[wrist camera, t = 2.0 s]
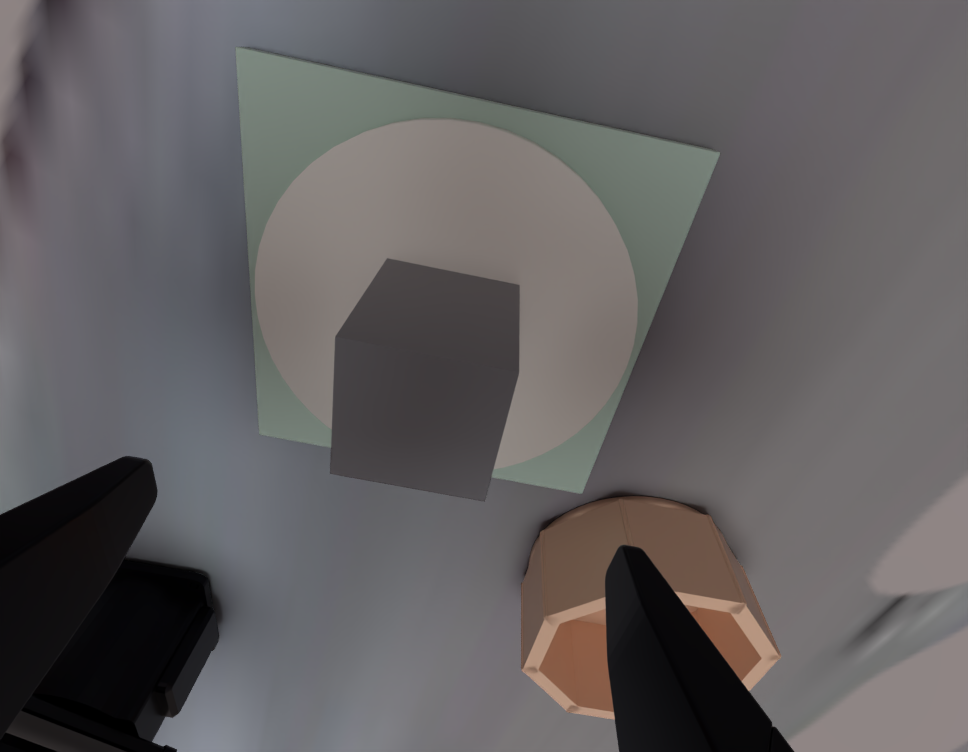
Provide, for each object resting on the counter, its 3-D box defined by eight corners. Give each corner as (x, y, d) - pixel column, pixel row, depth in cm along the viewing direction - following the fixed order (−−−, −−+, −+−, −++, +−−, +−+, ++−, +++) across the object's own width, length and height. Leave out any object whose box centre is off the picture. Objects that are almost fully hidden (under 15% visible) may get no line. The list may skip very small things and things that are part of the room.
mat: (265, 425, 21) (259, 434, 20) (246, 46, 14) (235, 46, 13) (580, 483, 21) (581, 493, 21) (713, 149, 14) (720, 152, 14)
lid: (271, 426, 20) (189, 548, 15) (256, 73, 13) (104, 82, 9) (573, 482, 20) (589, 617, 16) (694, 168, 14) (787, 228, 9)
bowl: (509, 607, 26) (506, 702, 22) (555, 477, 21) (563, 570, 17) (682, 637, 26) (709, 735, 23) (767, 516, 22) (820, 615, 18)
